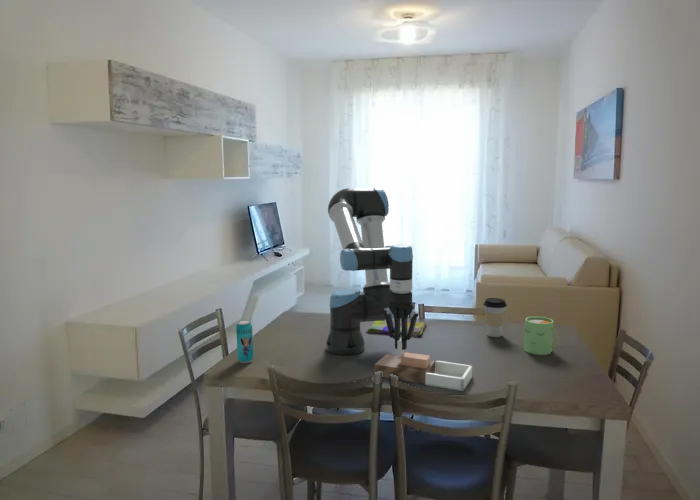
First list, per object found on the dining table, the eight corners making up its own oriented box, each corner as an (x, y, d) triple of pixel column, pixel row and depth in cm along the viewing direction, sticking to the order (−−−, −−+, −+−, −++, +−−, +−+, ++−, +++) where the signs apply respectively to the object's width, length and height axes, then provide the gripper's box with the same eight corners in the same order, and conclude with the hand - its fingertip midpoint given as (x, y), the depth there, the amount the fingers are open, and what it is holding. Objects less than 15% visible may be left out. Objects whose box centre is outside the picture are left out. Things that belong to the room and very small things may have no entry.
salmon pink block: (400, 364, 188) (400, 356, 187) (405, 360, 192) (405, 352, 191) (413, 366, 186) (413, 358, 185) (417, 362, 190) (417, 353, 189)
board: (374, 375, 189) (374, 364, 188) (386, 364, 199) (386, 354, 198) (425, 383, 182) (425, 372, 181) (434, 372, 191) (435, 361, 191)
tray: (425, 385, 181) (425, 373, 180) (436, 371, 192) (436, 360, 192) (463, 391, 175) (463, 379, 175) (472, 376, 187) (472, 365, 186)
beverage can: (240, 365, 200) (238, 325, 198) (235, 360, 205) (234, 321, 203) (255, 362, 203) (254, 322, 200) (250, 357, 208) (249, 318, 206)
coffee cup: (506, 339, 226) (507, 303, 224) (482, 337, 228) (483, 302, 226) (504, 332, 235) (506, 297, 233) (482, 331, 237) (483, 297, 235)
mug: (519, 350, 212) (520, 320, 210) (531, 344, 220) (532, 314, 218) (551, 358, 204) (552, 327, 202) (562, 351, 211) (564, 320, 209)
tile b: (413, 366, 186) (413, 358, 186) (417, 362, 190) (417, 353, 190) (426, 368, 184) (426, 360, 184) (430, 364, 188) (430, 355, 188)
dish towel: (375, 322, 253) (375, 316, 253) (428, 327, 246) (428, 321, 245) (364, 334, 237) (364, 327, 236) (421, 339, 229) (421, 332, 229)
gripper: (378, 291, 186) (379, 358, 189) (415, 294, 180) (415, 364, 184) (387, 287, 192) (387, 352, 196) (423, 290, 187) (422, 357, 190)
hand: (400, 358), depth 190 cm, fingers closed
